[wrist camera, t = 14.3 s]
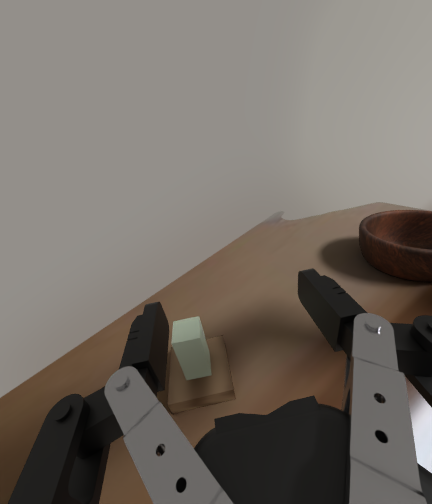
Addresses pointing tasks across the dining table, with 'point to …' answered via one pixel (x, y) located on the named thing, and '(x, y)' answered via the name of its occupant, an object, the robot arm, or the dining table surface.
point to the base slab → (201, 381)
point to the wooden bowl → (399, 243)
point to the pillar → (191, 348)
